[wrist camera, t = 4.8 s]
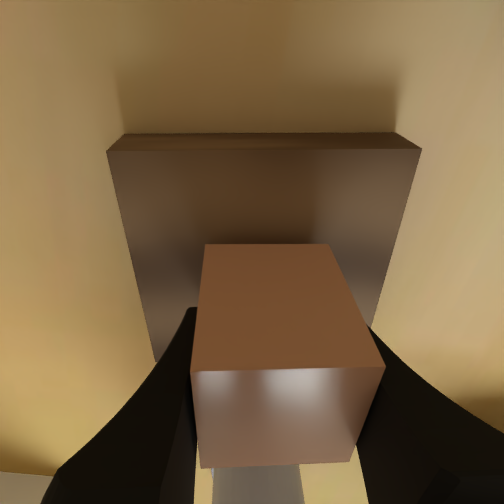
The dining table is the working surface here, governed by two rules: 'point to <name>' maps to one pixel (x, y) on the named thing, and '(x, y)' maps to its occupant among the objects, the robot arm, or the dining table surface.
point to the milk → (22, 488)
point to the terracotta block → (279, 358)
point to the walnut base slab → (257, 207)
